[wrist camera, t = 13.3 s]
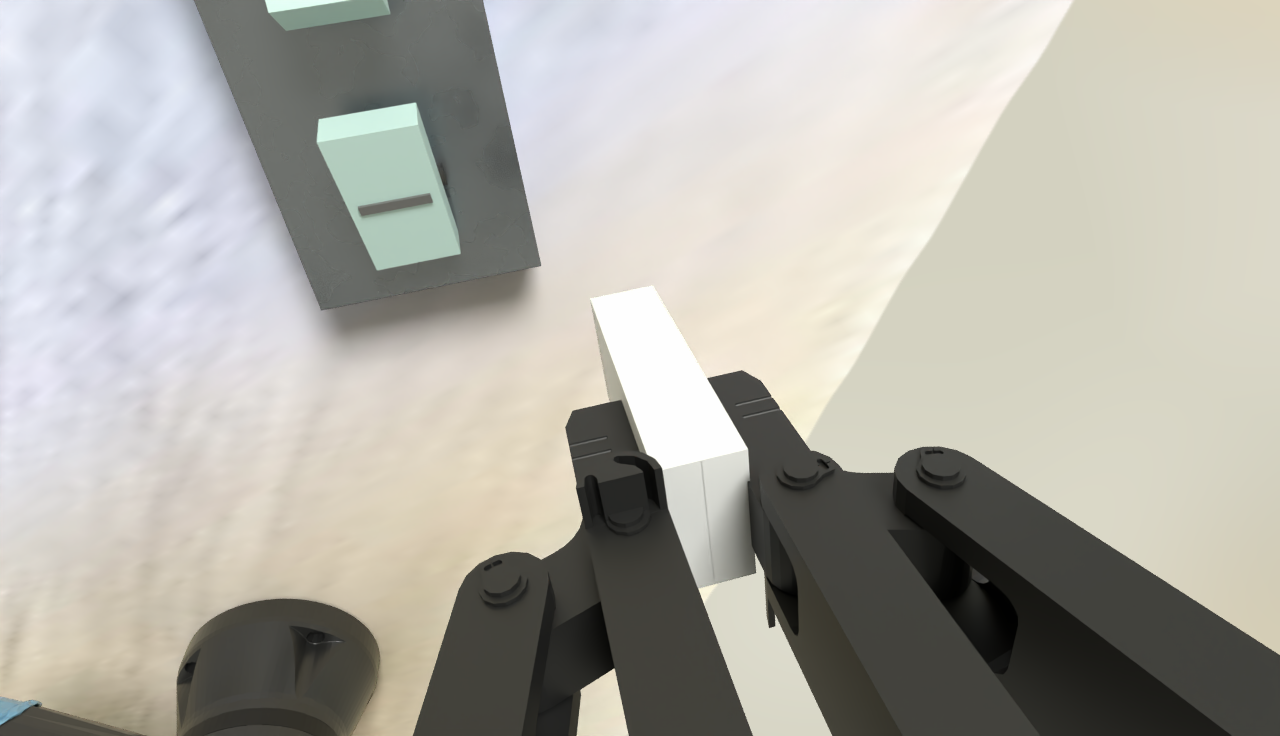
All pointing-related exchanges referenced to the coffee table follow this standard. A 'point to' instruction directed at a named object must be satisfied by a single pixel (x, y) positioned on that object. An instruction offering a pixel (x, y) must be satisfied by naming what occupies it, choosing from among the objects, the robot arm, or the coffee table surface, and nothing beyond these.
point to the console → (367, 80)
